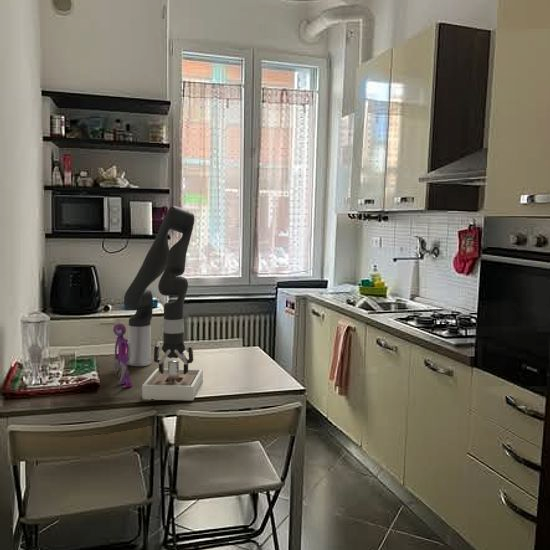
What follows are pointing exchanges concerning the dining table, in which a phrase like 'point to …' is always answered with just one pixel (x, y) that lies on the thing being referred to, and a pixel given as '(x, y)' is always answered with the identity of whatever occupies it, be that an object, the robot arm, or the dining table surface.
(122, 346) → the toy
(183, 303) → the robot arm
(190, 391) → the box
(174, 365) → the peg
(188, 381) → the bore plate
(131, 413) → the dining table surface
